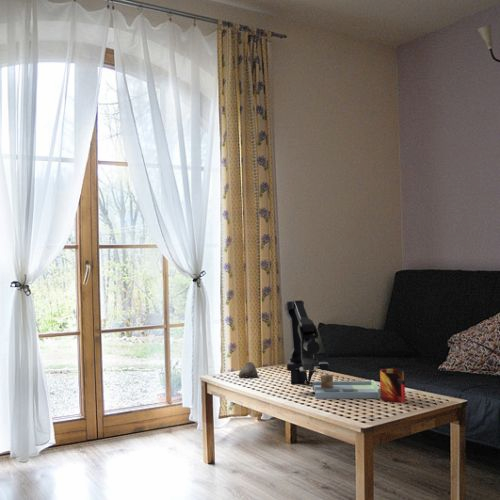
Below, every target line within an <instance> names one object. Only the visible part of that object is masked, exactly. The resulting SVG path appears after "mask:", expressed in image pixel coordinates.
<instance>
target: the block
mask: <svg viewBox="0 0 500 500" xmlns="http://www.w3.org/2000/svg"><path fill="white" fill-rule="evenodd" d="M333 381H334V377H333V374H321V375H320V382H321V388H333Z"/></svg>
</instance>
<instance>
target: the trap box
mask: <svg viewBox="0 0 500 500" xmlns="http://www.w3.org/2000/svg"><path fill="white" fill-rule="evenodd" d="M312 390H313V391H314V394H315V395H314V396H315V397H314V398H315V399H325V400H326V399H329V400H330V399H331V400H332V399H333V400H334V399H381V395H380V386H379V385H378V384H377V383H376V381H375V380H374V379H371V380H357V381H356V380H352V381H351V380H349V381H348V380H347V381H346V380H344V381H342V380H338V381H336V380H335V381H334V380H333V388H321V381H312Z"/></svg>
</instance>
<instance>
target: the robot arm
mask: <svg viewBox="0 0 500 500" xmlns="http://www.w3.org/2000/svg"><path fill="white" fill-rule="evenodd" d="M304 305H305V303H304V300H302V299H299V300H298V299H296V300H295V299H294V300H292V301H291V300H289V301H287V302H286V303H285V304H284V311H285V312H286V313H285V314H286V316H287V317H288V319H289V321H290V334H291V335H290V336H291V349H292V350H291V352H290V354H289V358H288V361H287V363H286V370H287V372H290V384H291V385H305V383H306V385H307V386H310V385H311V384H310V383H311V380H312V377H313V375H314V373H317V369H320V370H321V371H330V364H329V363H328V361H319V358H315V354H318V353H319V351H320V348H321V346H320V344H319V343H318V342H317V341H316V340H317V339H319V331H318V328H317V326H316V325H315V323H314V321H313V320H312V319H310V318H309V315H308V313H307V311H306V308H305V306H304ZM307 371H308V374H307Z"/></svg>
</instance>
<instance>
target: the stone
mask: <svg viewBox="0 0 500 500" xmlns="http://www.w3.org/2000/svg"><path fill="white" fill-rule="evenodd" d="M258 376H259V373H258V371H257V369H256V365H255V364H254V362H253V361H249V362H247V363H245V364H244V365H243V366H242V368H241V369H240V371H239V373H238V377H239V378H241V379H242V378H243V377H244V378H249V377H254V378H258Z"/></svg>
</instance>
